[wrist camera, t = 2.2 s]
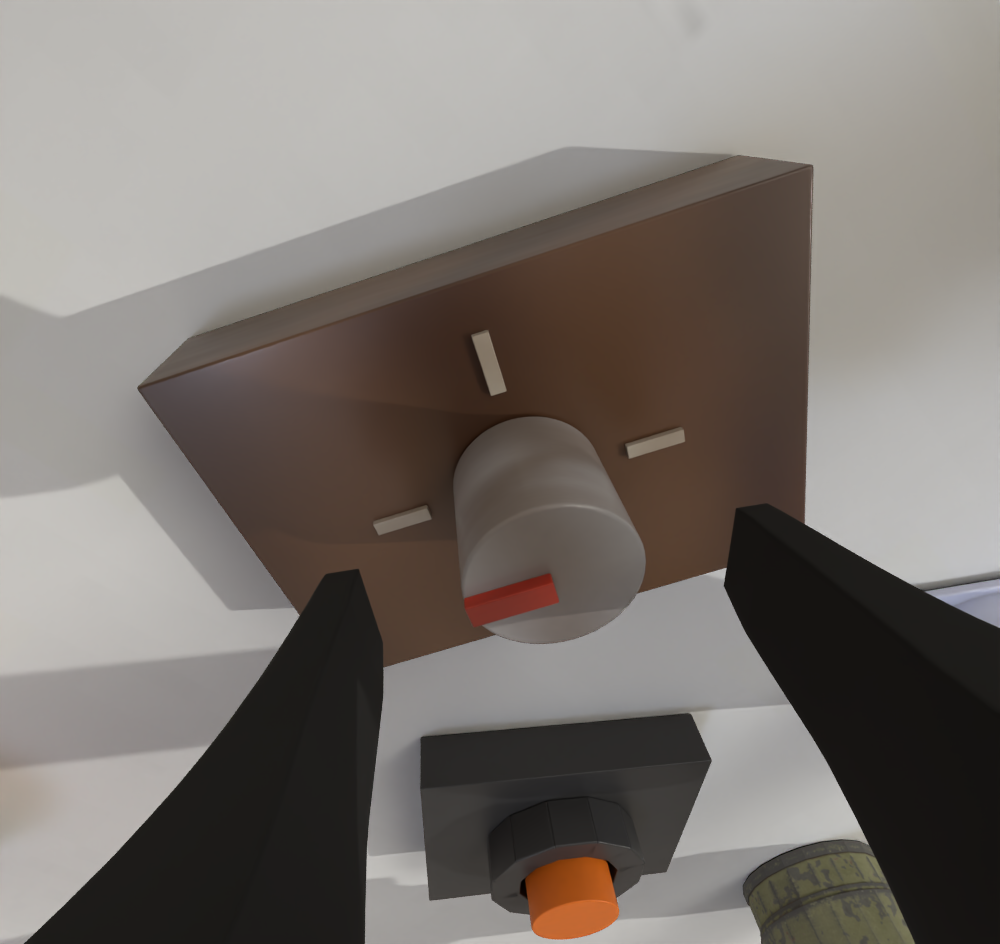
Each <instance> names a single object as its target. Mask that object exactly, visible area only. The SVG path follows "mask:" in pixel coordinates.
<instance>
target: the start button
mask: <svg viewBox="0 0 1000 944" xmlns="http://www.w3.org/2000/svg"><path fill="white" fill-rule="evenodd" d="M525 882H526V890H527V897H528V905H529V912H530V920H531V927H532V930H533V932H534V933H535V934H536V935H538V936H540V937H543V938H548V939H572V938H578V937H583V936H587V935H590V934H593V933H595V932H598V931H600V930H602V929H604V928H606V927H608V926H609V925H611V924H612V923H613V922H614V921H615V920H616V919H617V917H618V915H619V908H618V903H617V899H616V895H615V891H614V887H613V883H612V879H611V875H610V871H609V867H608V864H607V862H606V860H601V859H596V858H590V857H580V858H572V859H563V860H558V861H555V862H552V863H550V864H547V865H545V866H542V867H539V868H537V869H535V870H534V871H533V872H532V873H530V874H529V875H528V876H527V877H526V878H525Z"/></svg>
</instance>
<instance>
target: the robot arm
mask: <svg viewBox="0 0 1000 944" xmlns="http://www.w3.org/2000/svg"><path fill="white" fill-rule="evenodd" d="M724 587H725V589H726V592H727V594H728V596H729V598H730V601H731V603H732V605H733V607H734V609H735V612H736V614H737V616H738V618H739V620H740V622H741V624H742V626H743V628H744V630H745V632H746V634H747V636H748V637H749V639H750V640H751V642H752V644H753V645H754V647H755V648H756V650H757V652H758V653H759V655H760V656H761V658H762V660H763V661H764V663H765V664H766V666H767V667H768V669H769V671H770V672H771V674H772V675H773V677H774V678H775V680H776V682H777V683H778V685H779V686H780V688H781V689H782V691H783V692H784V694H785V696H786V697H787V699H788V700H789V702H790V703H791V705H792V706H793V708H794V710H795V711H796V713H797V714H798V716H799V717H800V719H801V720H802V722H803V724H804V725H805V727H806V728H807V730H808V731H809V733H810V734H811V736H812V738H813V739H814V741H815V743H816V744H817V746H818V748H819V749H820V751H821V753H822V754H823V756H824V758H825V760H826V761H827V763H828V765H829V767H830V769H831V771H832V772H833V774H834V776H835V778H836V780H837V782H838V784H839V786H840V788H841V790H842V792H843V794H844V796H845V798H846V800H847V801H848V803H849V805H850V807H851V809H852V811H853V813H854V815H855V817H856V819H857V821H858V823H859V825H860V827H861V829H862V831H863V833H864V835H865V837H866V839H867V841H868V844H869V846H870V848H871V850H872V852H873V854H874V856H875V858H876V860H877V862H878V864H879V866H880V868H881V870H882V872H883V874H884V876H885V878H886V880H887V883H888V885H889V887H890V889H891V891H892V894H893V896H894V898H895V900H896V902H897V905H898V907H899V909H900V911H901V913H902V916H903V918H904V920H905V922H906V924H907V927H908V929H909V931H910V933H911V935H912V938H913V940H914V942H915V944H1000V579H995V580H989V581H983V582H977V583H971V584H965V585H959V586H953V587H947V588H942V589H936V590H930V591H922V590H920V589H918V588H916V587H915V586H913V585H911V584H909V583H907V582H905V581H903V580H901V579H900V578H898V577H896V576H894V575H892V574H890V573H888V572H887V571H885V570H883V569H881V568H879V567H878V566H876V565H874V564H872V563H871V562H869V561H867V560H865V559H863V558H862V557H860V556H858V555H856V554H855V553H853V552H851V551H850V550H848V549H846V548H844V547H843V546H841V545H839V544H837V543H836V542H834V541H832V540H831V539H829V538H827V537H826V536H824V535H822V534H820V533H819V532H817V531H815V530H814V529H812V528H810V527H809V526H807V525H805V524H804V523H802V522H800V521H798V520H797V519H795V518H793V517H791V516H790V515H788V514H786V513H785V512H783V511H781V510H779V509H777V508H775V507H774V506H772V505H770V504H768V503H764V504H758V505H752V506H745V507H739V508H736V511H735V517H734V524H733V530H732V537H731V543H730V550H729V556H728V562H727V569H726V575H725V582H724ZM382 701H383V641H382V638H381V635H380V632H379V629H378V626H377V622H376V619H375V616H374V613H373V610H372V607H371V604H370V601H369V598H368V595H367V592H366V589H365V586H364V583H363V580H362V577H361V574H360V571H359V569H353V570H347V571H340V572H334V573H328V574H325V576H324V577H323V578H322V579H321V581H320V583H319V584H318V586H317V588H316V589H315V591H314V593H313V595H312V596H311V598H310V600H309V601H308V603H307V605H306V606H305V608H304V610H303V611H302V613H301V615H300V616H299V618H298V620H297V621H296V623H295V624H294V626H293V628H292V629H291V631H290V633H289V634H288V636H287V637H286V639H285V640H284V642H283V644H282V645H281V647H280V648H279V650H278V651H277V653H276V654H275V656H274V657H273V659H272V660H271V662H270V664H269V665H268V667H267V668H266V670H265V671H264V673H263V674H262V676H261V677H260V679H259V680H258V681H257V683H256V684H255V686H254V687H253V688H252V690H251V691H250V693H249V694H248V695H247V697H246V698H245V700H244V701H243V702H242V704H241V705H240V707H239V708H238V709H237V711H236V712H235V714H234V715H233V716H232V718H231V719H230V721H229V722H228V723H227V725H226V726H225V727H224V729H223V730H222V731H221V732H220V734H219V735H218V736H217V738H216V739H215V740H214V741H213V743H212V744H211V745H210V747H209V748H208V749H207V750H206V752H205V753H204V754H203V755H202V757H201V758H200V759H199V760H198V761H197V763H196V764H195V765H194V766H193V768H192V769H191V770H190V771H189V772H188V774H187V775H186V776H185V777H184V778H183V780H182V781H181V782H180V783H179V784H178V785H177V787H176V788H175V789H174V790H173V791H172V792H171V793H170V795H169V796H168V797H167V798H166V799H165V800H164V801H163V802H162V804H161V805H160V806H159V807H158V808H157V809H156V810H155V811H154V813H153V814H152V815H151V816H150V817H149V818H148V819H147V820H146V821H145V822H144V824H143V825H142V826H141V827H140V828H139V829H138V830H137V831H136V832H135V833H134V834H133V835H132V837H131V838H130V839H129V840H128V841H127V842H126V843H125V844H124V845H123V846H122V847H121V848H120V850H119V851H118V852H117V853H116V854H115V855H114V856H113V857H112V858H111V859H110V860H109V861H108V862H107V863H106V864H105V865H104V866H103V867H102V868H101V869H100V870H99V871H98V872H97V873H96V874H95V875H94V876H93V877H92V878H91V879H90V880H89V881H88V882H87V883H86V884H85V885H84V886H83V887H82V888H81V889H80V890H79V891H78V892H77V893H76V894H75V895H74V896H73V897H72V898H71V899H70V900H69V901H68V902H67V903H66V904H65V905H64V906H63V907H62V908H61V909H60V910H59V911H58V912H57V913H56V914H55V915H54V916H52V917H51V918H50V919H49V920H48V921H47V922H46V923H45V924H44V925H43V926H42V927H41V928H40V929H39V930H38V931H37V932H36V933H35V934H34V935H33V936H32V937H31V938H29V939H28V940H27V941H26V942H25V943H24V944H365V898H366V859H367V839H368V826H369V815H370V806H371V798H372V789H373V780H374V772H375V763H376V755H377V746H378V738H379V729H380V720H381V711H382Z"/></svg>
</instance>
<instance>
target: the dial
mask: <svg viewBox="0 0 1000 944" xmlns="http://www.w3.org/2000/svg"><path fill="white" fill-rule="evenodd" d="M453 493H454V506H455V518H456V531H457V543H458V555H459V568H460V580H461V590H462V596H463V599H464V608H465V611H466V613H467V615H468V617H469V620H470V622H471V624H472V626H473V627H478V626H481V625H482V626H483V627H485V628H486V629H488V630H489V631H491V632H492V633H494V634H496V635H498V636H500V637H503V638H506V639H509V640H513V641H517V642H522V643H530V644H548V643H557V642H564V641H568V640H572V639H575V638H578V637H581V636H584V635H587V634H589V633H591V632H594V631H596V630H597V629H599V628H601V627H603V626H605V625H606V624H608V623H609V622H611V621H612V620H613V619H615V618H616V617H617V616H618V615H619V614H621V613H622V612H623V611H624V610H625V609H626V608H627V606H628V605H629V604H630V603H631V601H632V600H633V599H634V598H635V596H636V594H637V592H638V591H639V589H640V586H641V584H642V581H643V578H644V574H645V565H646V557H645V550H644V546H643V543H642V541H641V539H640V537H639V535H638V533H637V531H636V529H635V527H634V525H633V523H632V521H631V519H630V517H629V515H628V513H627V511H626V509H625V507H624V505H623V504H622V502H621V500H620V498H619V496H618V494H617V492H616V490H615V488H614V486H613V484H612V482H611V480H610V478H609V476H608V474H607V472H606V470H605V468H604V466H603V464H602V463H601V461H600V459H599V457H598V455H597V453H596V451H595V449H594V447H593V445H592V444H591V443H590V441H589V440H588V439H587V438H586V437H585V436H584V435H583V434H582V433H581V432H580V431H578V430H577V429H576V428H574V427H572V426H571V425H569V424H567V423H564V422H562V421H559V420H556V419H551V418H547V417H521V418H515V419H511V420H507V421H505V422H502V423H499V424H497V425H495V426H493V427H491V428H489V429H488V430H486V431H485V432H483V433H482V434H481V435H479V436H478V437H477V438H476V439H475V440H474V441H473V442H472V443H471V444H470V445H469V446H468V447H467V449H466V450H465V451H464V453H463V454H462V456H461V458H460V460H459V462H458V464H457V467H456V470H455V473H454V479H453Z"/></svg>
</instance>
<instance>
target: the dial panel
mask: <svg viewBox="0 0 1000 944" xmlns="http://www.w3.org/2000/svg"><path fill="white" fill-rule="evenodd" d="M812 202H813V165H810V164H802V163H795V162H787V161H779V160H772V159H764V158H757V157H749V156H741V155H737V156H734V157H731V158H728V159H725V160H722V161H719V162H716V163H713V164H710V165H707V166H704V167H701V168H698V169H695V170H692V171H689V172H686V173H683V174H680V175H677V176H674V177H671V178H668V179H665V180H662V181H659V182H656V183H653V184H650V185H647V186H644V187H641V188H638V189H635V190H632V191H629V192H626V193H623V194H620V195H617V196H614V197H611V198H608V199H605V200H602V201H599V202H596V203H593V204H590V205H587V206H584V207H581V208H578V209H575V210H572V211H569V212H566V213H563V214H560V215H557V216H554V217H551V218H548V219H545V220H542V221H539V222H536V223H533V224H530V225H527V226H524V227H521V228H518V229H515V230H512V231H509V232H506V233H503V234H500V235H497V236H494V237H491V238H488V239H485V240H482V241H479V242H476V243H473V244H470V245H467V246H464V247H461V248H458V249H455V250H452V251H449V252H446V253H443V254H440V255H437V256H434V257H431V258H428V259H425V260H422V261H419V262H416V263H413V264H410V265H407V266H404V267H401V268H398V269H395V270H392V271H389V272H386V273H383V274H380V275H377V276H374V277H371V278H368V279H365V280H362V281H359V282H356V283H353V284H350V285H347V286H344V287H341V288H338V289H335V290H332V291H329V292H326V293H323V294H320V295H317V296H314V297H311V298H308V299H305V300H302V301H299V302H296V303H293V304H290V305H287V306H284V307H281V308H278V309H275V310H272V311H269V312H266V313H263V314H260V315H257V316H254V317H251V318H248V319H245V320H242V321H239V322H236V323H233V324H230V325H227V326H224V327H221V328H218V329H215V330H212V331H209V332H206V333H203V334H200V335H197V336H194V337H191V338H188V339H187V340H186V341H185V342H184V343H183V344H182V345H181V346H180V347H179V348H178V349H177V350H176V351H175V352H174V353H173V354H172V355H171V356H170V357H168V358H167V359H166V360H165V361H164V362H163V363H162V364H161V365H160V366H159V367H158V368H157V369H156V370H155V371H154V372H153V373H152V374H151V375H150V376H149V377H148V378H147V379H146V380H144V381H143V382H142V383H141V384H140V385H139V386H138V391H139V392H140V393H141V395H142V396H143V398H144V399H145V400H146V402H147V403H148V405H149V406H150V407H151V409H152V410H153V412H154V413H155V414H156V416H157V417H158V419H159V420H160V421H161V423H162V424H163V425H164V427H165V428H166V430H167V431H168V432H169V434H170V435H171V437H172V438H173V439H174V441H175V442H176V444H177V445H178V446H179V448H180V449H181V451H182V452H183V453H184V455H185V456H186V457H187V459H188V460H189V462H190V463H191V464H192V466H193V467H194V469H195V470H196V471H197V473H198V474H199V476H200V477H201V478H202V480H203V481H204V483H205V484H206V485H207V487H208V488H209V489H210V491H211V492H212V494H213V495H214V496H215V498H216V499H217V501H218V502H219V503H220V505H221V506H222V508H223V509H224V510H225V512H226V513H227V515H228V516H229V517H230V519H231V520H232V521H233V523H234V524H235V526H236V527H237V528H238V530H239V531H240V533H241V534H242V535H243V537H244V538H245V540H246V541H247V542H248V544H249V545H250V547H251V548H252V549H253V551H254V552H255V553H256V555H257V556H258V558H259V559H260V560H261V562H262V563H263V565H264V566H265V567H266V569H267V570H268V572H269V573H270V574H271V576H272V577H273V579H274V580H275V581H276V583H277V584H278V585H279V587H280V588H281V590H282V591H283V592H284V594H285V595H286V597H287V598H288V599H289V601H290V602H291V604H292V605H293V606H294V608H295V609H296V611H297V612H298V613H299V615H301V613H302V611H303V610H304V608H305V606H306V605H307V603H308V601H309V600H310V598H311V596H312V595H313V593H314V591H315V589H316V588H317V586H318V584H319V583H320V581H321V579H322V578H323V577H324V576H325V574H328V573H334V572H340V571H347V570H353V569H359V571H360V574H361V577H362V580H363V583H364V586H365V589H366V592H367V595H368V598H369V601H370V604H371V607H372V610H373V613H374V616H375V619H376V622H377V626H378V629H379V632H380V635H381V638H382V641H383V667H387V666H390V665H394V664H397V663H400V662H404V661H407V660H411V659H414V658H418V657H421V656H424V655H428V654H431V653H435V652H438V651H442V650H445V649H448V648H452V647H455V646H459V645H462V644H466V643H469V642H472V641H476V640H479V639H483V638H486V637H490V636H493V635H496V634H494V633H492V632H491V631H489V630H488V629H486V628H485V627H483V626H482V625H481V626H478V627H473V626H472V624H471V622H470V620H469V617H468V615H467V613H466V611H465V608H464V599H463V596H462V590H461V580H460V568H459V555H458V543H457V531H456V518H455V506H454V493H453V479H454V473H455V470H456V467H457V464H458V462H459V460H460V458H461V456H462V454H463V453H464V451H465V450H466V449H467V447H468V446H469V445H470V444H471V443H472V442H473V441H474V440H475V439H476V438H477V437H478V436H479V435H481V434H482V433H483V432H485V431H486V430H488V429H489V428H491V427H493V426H495V425H497V424H499V423H502V422H505V421H507V420H511V419H515V418H521V417H547V418H551V419H556V420H559V421H562V422H564V423H567V424H569V425H571V426H572V427H574V428H576V429H577V430H578V431H580V432H581V433H582V434H583V435H584V436H585V437H586V438H587V439H588V440H589V441H590V443H591V444H592V445H593V447H594V449H595V451H596V453H597V455H598V457H599V459H600V461H601V463H602V464H603V466H604V468H605V470H606V472H607V474H608V476H609V478H610V480H611V482H612V484H613V486H614V488H615V490H616V492H617V494H618V496H619V498H620V500H621V502H622V504H623V505H624V507H625V509H626V511H627V513H628V515H629V517H630V519H631V521H632V523H633V525H634V527H635V529H636V531H637V533H638V535H639V537H640V539H641V541H642V543H643V546H644V550H645V557H646V565H645V574H644V578H643V581H642V584H641V586H640V589H639V591H638V592H637V593H641V592H644V591H648V590H651V589H655V588H658V587H661V586H665V585H668V584H672V583H675V582H679V581H682V580H685V579H689V578H692V577H696V576H699V575H703V574H706V573H709V572H713V571H716V570H720V569H723V568H727V562H728V556H729V550H730V543H731V537H732V530H733V524H734V517H735V511H736V508H739V507H745V506H752V505H758V504H764V503H768V504H770V505H772V506H774V507H775V508H777V509H779V510H781V511H783V512H785V513H786V514H788V515H790V516H791V517H793V518H795V519H797V520H798V521H800V522H802V523H804V524H805V488H806V447H807V406H808V365H809V325H810V284H811V243H812Z"/></svg>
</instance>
